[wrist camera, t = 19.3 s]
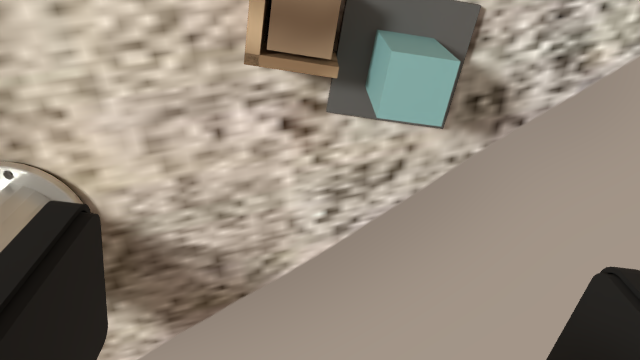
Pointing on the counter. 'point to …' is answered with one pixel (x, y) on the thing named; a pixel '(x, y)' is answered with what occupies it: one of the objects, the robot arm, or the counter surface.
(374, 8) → the pad
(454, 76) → the block
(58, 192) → the robot arm
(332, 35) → the rack
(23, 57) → the counter surface
